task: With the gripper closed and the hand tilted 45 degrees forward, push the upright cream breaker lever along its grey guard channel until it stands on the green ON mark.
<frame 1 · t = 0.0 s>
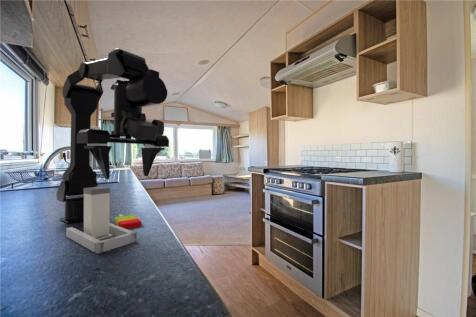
hand: (127, 177, 53), 15 cm above the countertop, tool pointing down, fingers open, 9 cm apart
popsicle: (125, 223, 69), on the countertop
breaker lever: (96, 211, 56), point 6 cm above the countertop, slide at 0.0 cm
guard channel: (100, 238, 55), on the countertop
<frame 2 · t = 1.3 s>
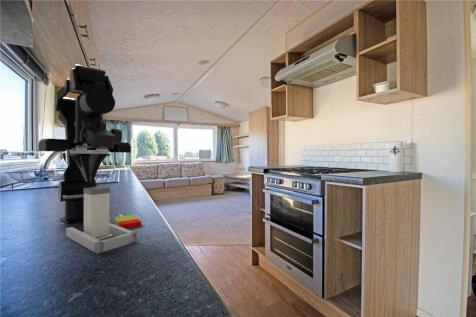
hand: (89, 181, 58), 13 cm above the countertop, tool pointing down, fingers closed
nothing on the countertop moved.
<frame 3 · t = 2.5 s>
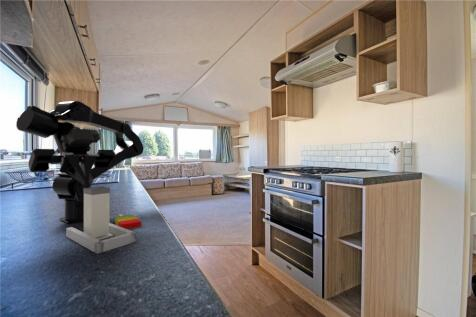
hand: (86, 183, 59), 12 cm above the countertop, tool tilted 45°, fingers closed
nothing on the countertop moved.
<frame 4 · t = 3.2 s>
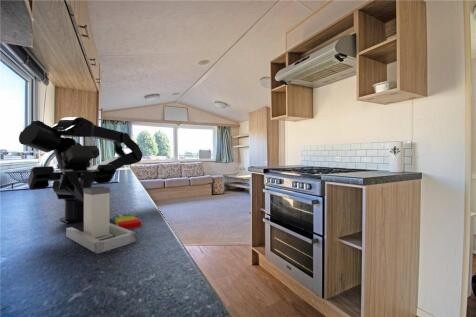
hand: (85, 200, 59), 8 cm above the countertop, tool tilted 45°, fingers closed
nothing on the countertop moved.
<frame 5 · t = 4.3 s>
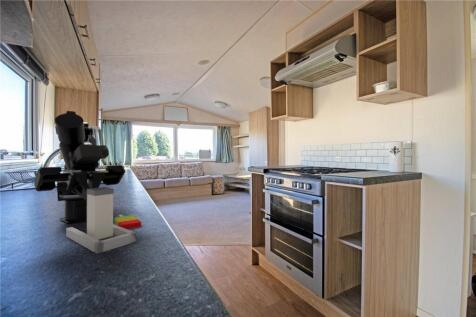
hand: (94, 203, 56), 8 cm above the countertop, tool tilted 45°, fingers closed
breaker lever: (100, 212, 55), point 6 cm above the countertop, slide at 1.8 cm, touching gripper
everything else where it was.
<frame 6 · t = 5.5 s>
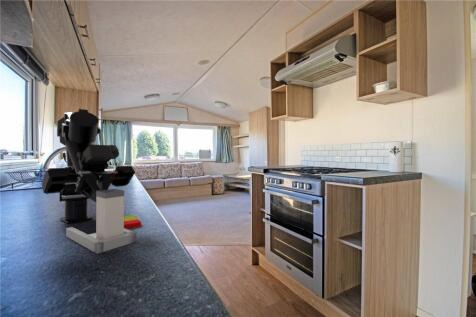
hand: (105, 205, 53), 8 cm above the countertop, tool tilted 45°, fingers closed, pressing on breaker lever
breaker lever: (110, 215, 52), point 6 cm above the countertop, slide at 6.5 cm, touching gripper
everything else where it was.
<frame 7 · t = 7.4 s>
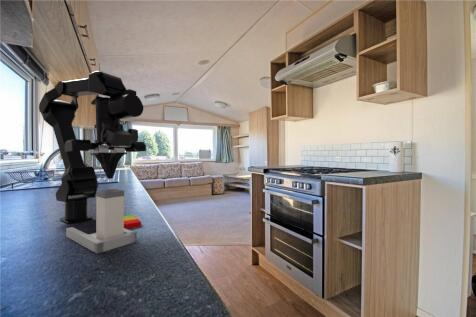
hand: (110, 178, 63), 13 cm above the countertop, tool pointing down, fingers closed
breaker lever: (110, 215, 52), point 6 cm above the countertop, slide at 6.5 cm
everything else where it was.
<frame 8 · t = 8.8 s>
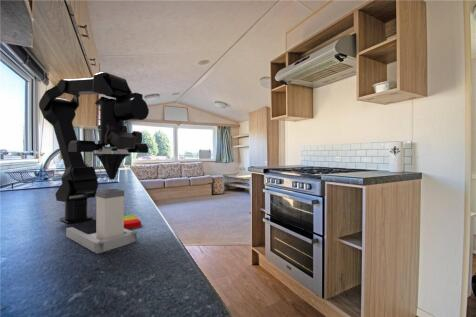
hand: (112, 179, 63), 13 cm above the countertop, tool pointing down, fingers closed
nothing on the countertop moved.
at the end: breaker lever slide at 6.5 cm; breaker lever touching nothing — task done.
